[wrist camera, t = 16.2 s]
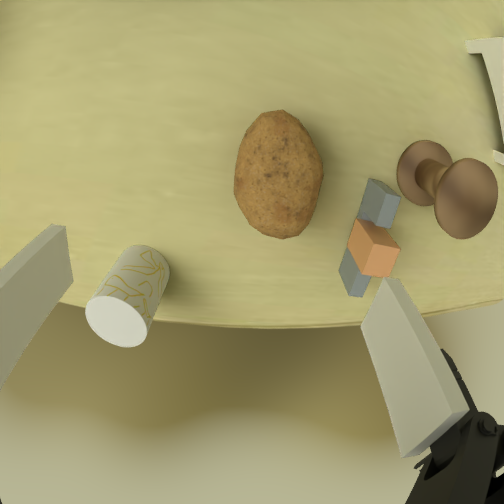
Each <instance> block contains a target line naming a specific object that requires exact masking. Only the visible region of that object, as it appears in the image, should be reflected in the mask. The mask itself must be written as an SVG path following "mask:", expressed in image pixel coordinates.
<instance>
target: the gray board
mask: <svg viewBox="0 0 504 504" xmlns="http://www.w3.org/2000/svg"><path fill="white" fill-rule="evenodd" d="M400 199H401V197H400V196H399V195H398V194H396V193H395V192H394V191H393V190H392V189H390V188H389V187H388V186H387V185H385V184H384V183H383V182H381V181H377V180H373V179H368V183H367V186H366V190H365V193H364V196H363V200H362V203H361V206H360V209H359V212H358V216H357V218H358V219H363V220H367V221H371V222H373V223H374V224H375V225H376V226H380V227H384V228H389V229H390V228H391V225H392V222H393V219H394V217H395V214H396V211H397V208H398V205H399V202H400ZM339 273H340V275H341V278H342V280H343V283H344V285H345V288H346V290H347V293H348V295H349V296H355V297H363V295H364V292H365V290H366V288H367V285H368V283H369V281H370V278H371V276H369V275H363V274H361V272H360V270H359V268H358V266H357V264H356V262H355V260H354V258H353V256H352V254H351V252H350V251H349V249H348V247H347V249H346V251H345V254H344V257H343V260H342V263H341V266H340V268H339Z"/></svg>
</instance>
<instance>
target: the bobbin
mask: <svg viewBox="0 0 504 504" xmlns="http://www.w3.org/2000/svg"><path fill="white" fill-rule="evenodd" d="M397 182H398V186H399V188H400V190H401V192H402V193H403V195H404V196H405V197H406V198H407V199H409V200H410V201H411V202H412V203H414V204H416V205H420V206H429V205H433V204H434V211H435V216H436V219H437V222H438V223H439V225H440V226H441V228H442V229H443V230H444V231H445V232H446V233H448V234H449V235H450V236H452V237H453V238H456V239H468V238H471V237H473V236H475V235H477V234H478V233H479V232H481V231H482V230H483V229H484V228H485V227H486V225H487V224H488V223H489V221H490V220H491V218H492V216H493V214H494V211H495V208H496V205H497V199H498V186H497V181H496V178H495V175H494V173H493V172H492V170H491V169H490V168H489V167H488V166H487V165H486V164H484V163H483V162H481V161H478V160H476V159H472V158H465V159H461V160H458V161H456V162H455V163H453V162H452V159H451V157H450V155H449V153H448V152H447V150H446V149H445V148H444V147H442V146H441V145H439V144H438V143H435V142H432V141H428V140H422V141H418V142H415V143H413V144H412V145H410V146H409V147H408V148H407V149H406V150H405V151H404V152H403V154H402V155H401V157H400V159H399V162H398V166H397Z"/></svg>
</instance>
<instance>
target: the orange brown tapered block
mask: <svg viewBox="0 0 504 504" xmlns="http://www.w3.org/2000/svg"><path fill="white" fill-rule="evenodd" d="M347 247H348V249H349V251H350V252H351V254H352V256H353V258H354V260H355V262H356V264H357V266H358V268H359V270H360V272H361V274H363V275H369V276H375V277H382V278H384V277H389V275H390V273H391V271H392V268H393V266H394V264H395V261H396V259H397V257H398V254H399V252H400V250H401V249H400V248H399V246H398V245H397V244H396V242H395V241H394V240H393V239H392V237H391V236H390V235H389V234H388V233H387V231H386V230H385V229H384V228H383V227H380V226H376V225H375V224H374V223H373V222H371V221H367V220H363V219H358V218H356V220H355V223H354V226H353V229H352V232H351V235H350V237H349V240H348V243H347Z"/></svg>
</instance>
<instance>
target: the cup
mask: <svg viewBox="0 0 504 504" xmlns="http://www.w3.org/2000/svg"><path fill="white" fill-rule="evenodd" d="M169 277H170V270H169V266H168V263H167V262H166V260H165V258H164V257H163V256H162V255H161V254H160V253H159V252H158V251H156V250H155V249H153V248H151V247H148V246H144V245H134V246H131V247H129V248H127V249H126V250H124V252H123V253H122V254H121V256H120V257H119V258H118V260H117V261H116V262H115V264H114V265H113V267H112V268H111V270H110V271H109V272H108V274H107V275H106V277H105V278H104V280H103V281H102V283H101V284H100V285H99V287H98V288H97V290H96V291H95V293H94V294H93V296H92V297H91V299H90V300H89V302H88V304H87V306H86V311H85V312H86V318H87V321H88V323H89V325H90V326H91V328H92V329H93V330H94V331H95V332H96V333H97V334H98V335H99V336H100V337H101V338H103V339H104V340H106V341H108V342H110V343H112V344H114V345H118V346H122V347H134V346H137V345H139V344H141V343H142V342H143V341H144V339H145V338H146V335H147V333H148V330H149V327H150V325H151V322H152V320H153V317H154V315H155V312H156V310H157V307H158V305H159V302H160V300H161V297H162V295H163V292H164V290H165V288H166V285H167V283H168V280H169Z"/></svg>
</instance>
